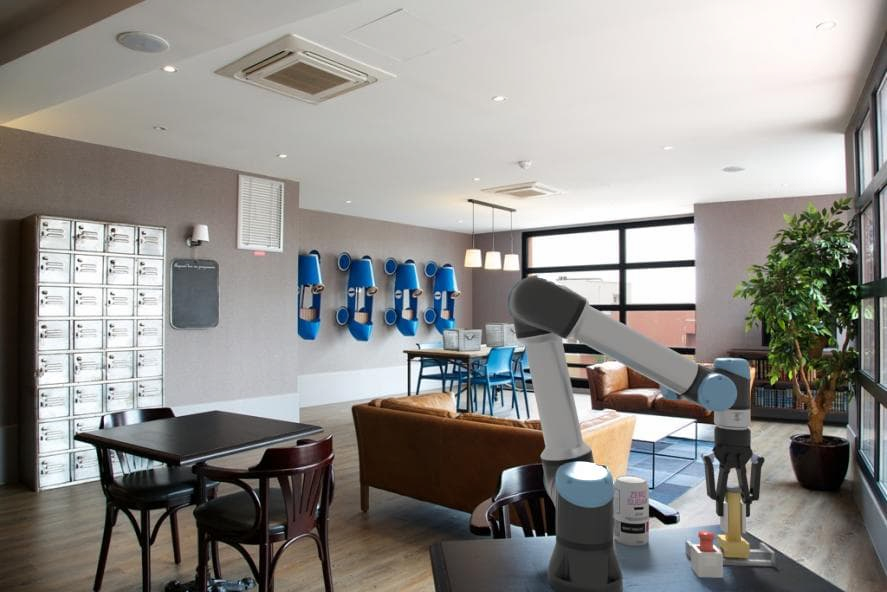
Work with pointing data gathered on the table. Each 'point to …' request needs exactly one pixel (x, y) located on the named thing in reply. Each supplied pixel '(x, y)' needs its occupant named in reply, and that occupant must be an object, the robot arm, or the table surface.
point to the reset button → (706, 541)
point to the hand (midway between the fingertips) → (733, 530)
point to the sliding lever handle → (733, 526)
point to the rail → (755, 558)
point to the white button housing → (707, 562)
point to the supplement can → (631, 510)
